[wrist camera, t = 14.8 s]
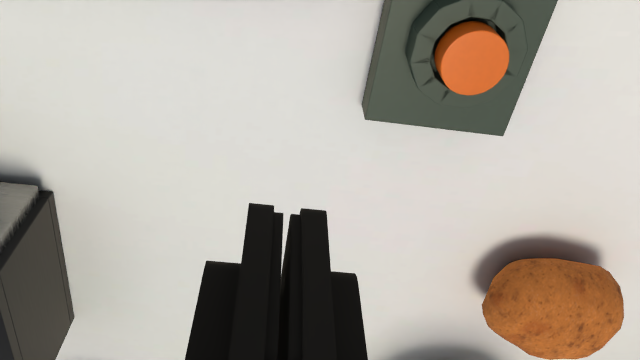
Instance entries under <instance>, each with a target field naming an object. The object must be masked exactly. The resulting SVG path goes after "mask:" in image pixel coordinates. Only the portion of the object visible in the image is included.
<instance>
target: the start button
mask: <svg viewBox="0 0 640 360" xmlns="http://www.w3.org/2000/svg"><path fill="white" fill-rule="evenodd" d="M434 59H435V66H436V69H437V71H438V72H439V74H440V76H441V78H442V80H443V81H444V83H445V85H446V86H447V87H448V88H449V89H450V90H452V91H453V92H455V93H458V94H462V95H476V94H480V93H483V92H485V91H487V90H489V89H491V88H492V87H494V86H495V85H496V84H497V83H498V82H499V81H500V80H501V79H502V77H503V76H504V74H505V72H506V70H507V67H508V64H509V50H508V47H507V44H506V43H505V41H504V40H503V39H502V38H501V37H500V36H499V34H498V33H497V32H496V31H495V30H494V29H493V28H492V27H491V26H489V25H487V24H485V23H483V22H479V21H467V22H463V23H460V24H458V25H456V26H454V27H452V28H451V29H449V30H448V31H447V32H446V33H445V34H444V35H443V36H442V38H441V39H440V41H439V43H438V45H437V47H436V50H435V57H434Z"/></svg>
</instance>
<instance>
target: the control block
mask: <svg viewBox="0 0 640 360" xmlns="http://www.w3.org/2000/svg"><path fill="white" fill-rule="evenodd" d="M557 1H558V0H385V1H384V6H383V10H382V15H381V19H380V24H379V29H378V33H377V38H376V42H375V47H374V52H373V56H372V61H371V65H370V70H369V74H368V79H367V84H366V88H365V93H364V97H363V102H362V108H363V112H364V117H365V119H366V120H373V121H382V122H390V123H398V124H406V125H415V126H423V127H431V128H440V129H448V130H456V131H464V132H473V133H481V134H489V135H497V136H503V135H504V133H505V130H506V128H507V125H508V123H509V120H510V118H511V115H512V113H513V110H514V108H515V105H516V103H517V100H518V98H519V95H520V93H521V91H522V88H523V86H524V83H525V81H526V78H527V76H528V73H529V71H530V68H531V66H532V63H533V61H534V58H535V56H536V53H537V51H538V48H539V46H540V43H541V41H542V38H543V36H544V33H545V31H546V28H547V26H548V23H549V21H550V18H551V16H552V13H553V11H554V8H555V6H556V4H557ZM467 21H479V22H483V23H485V24H487V25H489V26H491V27H492V28H493V29H494V30H495V31H496V32H497V33H498V34H499V36H500V37H501V38H502V39H503V40H504V41H505V43H506V44H507V47H508V50H509V64H508V67H507V70H506V72H505V74H504V76H503V77H502V79H501V80H500V81H499V82H498V83H497V84H496V85H495V86H494V87H492V88H491V89H489V90H487V91H485V92H483V93H480V94H476V95H462V94H458V93H455V92H453V91H452V90H450V89H449V88H448V87H447V86H446V85H445V83H444V81H443V80H442V78H441V76H440V74H439V72H438V71H437V69H436V66H435V59H434V57H435V50H436V47H437V45H438V43H439V41H440V39H441V38H442V36H443V35H444V34H445V33H446V32H447V31H448V30H449V29H451V28H452V27H454V26H456V25H458V24H460V23H463V22H467Z"/></svg>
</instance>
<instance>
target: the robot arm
mask: <svg viewBox="0 0 640 360" xmlns="http://www.w3.org/2000/svg"><path fill="white" fill-rule="evenodd" d="M282 234H283V213H276V212H274V206H273V205H263V204H253V203H249V208H248V216H247V224H246V231H245V239H244V247H243V254H242V262H241V264H238V263H227V262H215V261H206V264H205V268H204V272H203V277H202V282H201V286H200V291H199V296H198V301H197V305H196V310H195V315H194V319H193V324H192V329H191V334H190V338H189V343H188V348H187V352H186V357H185V360H368V358H367V350H366V342H365V334H364V326H363V319H362V311H361V303H360V295H359V287H358V281H357V276H356V274H354V273H343V272H331V269H330V255H329V240H328V226H327V214H326V211H323V210H313V209H303V208H301V211H300V215H296V214H291V216H290V221H289V228H288V234H287V241H286V248H285V254H284V261H283V267H282V274H281V259H282Z"/></svg>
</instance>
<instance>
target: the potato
mask: <svg viewBox="0 0 640 360" xmlns="http://www.w3.org/2000/svg"><path fill="white" fill-rule="evenodd" d="M482 309H483V315H484V317H485V320H486V322H487V325H488V326H489V327H490V328H491V329H492V330H493V331H494V332H495V333H497V334H498V335H500V336H501V337H502V338H504V339H505V340H507V341H509V342H511V343H512V344H514V345H516V346H518V347H519V348H521V349H522V350H523V351H525V352H526V353H527V354H529V355H532V356H536V357H540V358H544V359H549V360H551V359H579V358H583V357H588V356H589V355H591V354H593V353H594V352H596V351H598V350H600V349H601V348H602V347H603V346H604V345H605V344H606V343H607V342H608V341H609V340H610V339H611V338H612V337H613V336H614V335H615V334H616V333H617V332H618V331H619V330H620V329H621V325H622V322H623V318H624V309H623V297H622V293H621V289H620V286H619V285H618V283H617V282H616V281H615V279H614V278H613V276H612V275H611V274H610V272H608V271H606V270H605V269H603V268H602V267H600V266H595V265H591V264H585V263H580V262H574V261H568V260H563V259H554V258H533V259H520V260H517V261H514V262H511V263H509V264H508V265H507V266H505V267H504V268H503V269H502V270H501V271H500V272H499V273H498V274H497V275H496V276H495V277H494V278H493V280H492V282H491V285H490V287H489V290H488V292H487V294H486V297H485V299H484V301H483V304H482Z"/></svg>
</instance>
